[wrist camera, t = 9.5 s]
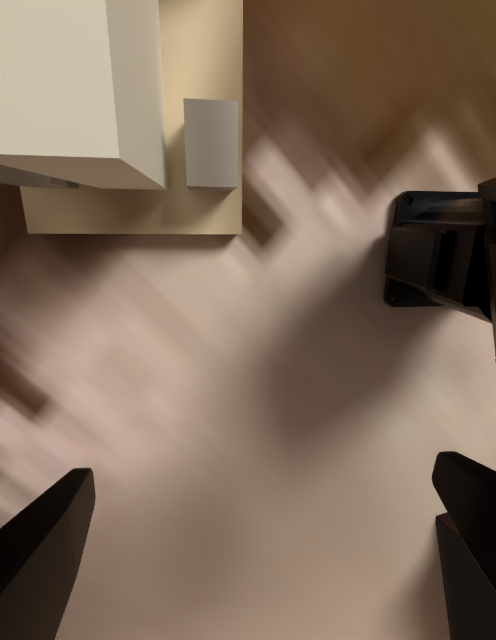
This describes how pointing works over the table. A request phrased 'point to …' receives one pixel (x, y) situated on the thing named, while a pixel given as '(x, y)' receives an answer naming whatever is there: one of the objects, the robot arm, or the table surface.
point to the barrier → (464, 587)
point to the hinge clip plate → (168, 141)
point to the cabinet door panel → (83, 91)
